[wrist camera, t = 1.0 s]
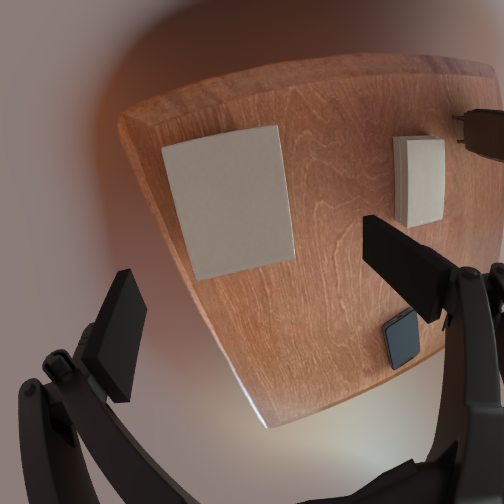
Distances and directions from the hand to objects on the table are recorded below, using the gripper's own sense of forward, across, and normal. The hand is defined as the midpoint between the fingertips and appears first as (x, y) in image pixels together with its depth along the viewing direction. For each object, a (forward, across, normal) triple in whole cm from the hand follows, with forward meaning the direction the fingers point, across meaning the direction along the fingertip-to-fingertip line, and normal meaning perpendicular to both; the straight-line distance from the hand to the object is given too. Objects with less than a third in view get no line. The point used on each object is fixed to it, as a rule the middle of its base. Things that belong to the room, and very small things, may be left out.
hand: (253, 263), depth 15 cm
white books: (+18, +26, -2) cm, 32 cm away
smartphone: (+19, +28, -34) cm, 48 cm away
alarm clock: (+19, +40, +5) cm, 45 cm away
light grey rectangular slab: (+12, 0, 0) cm, 12 cm away
